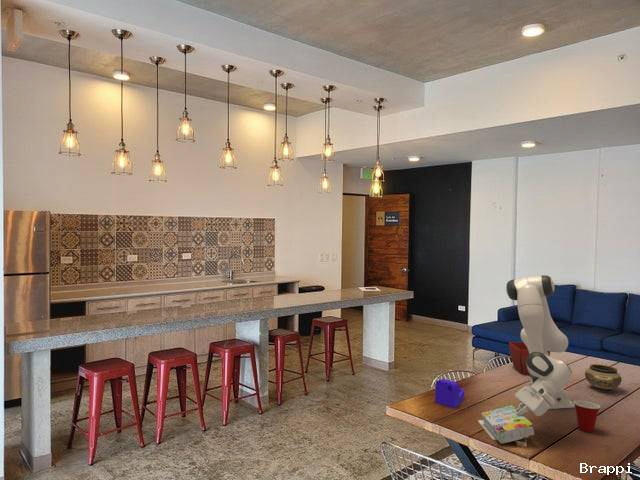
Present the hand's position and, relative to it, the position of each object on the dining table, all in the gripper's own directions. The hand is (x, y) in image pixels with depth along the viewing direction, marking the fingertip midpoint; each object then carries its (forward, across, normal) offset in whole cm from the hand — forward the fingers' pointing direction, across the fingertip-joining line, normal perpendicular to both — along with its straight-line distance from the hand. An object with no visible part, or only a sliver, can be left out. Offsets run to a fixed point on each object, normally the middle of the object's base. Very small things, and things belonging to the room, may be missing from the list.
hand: (517, 413), depth 209 cm
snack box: (0, 0, +4) cm, 4 cm away
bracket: (+19, -40, -5) cm, 45 cm away
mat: (+13, -4, +1) cm, 14 cm away
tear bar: (+8, 0, +6) cm, 10 cm away
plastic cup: (-17, -7, +31) cm, 36 cm away
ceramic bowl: (-46, -62, +59) cm, 97 cm away
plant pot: (-26, -93, +39) cm, 104 cm away
